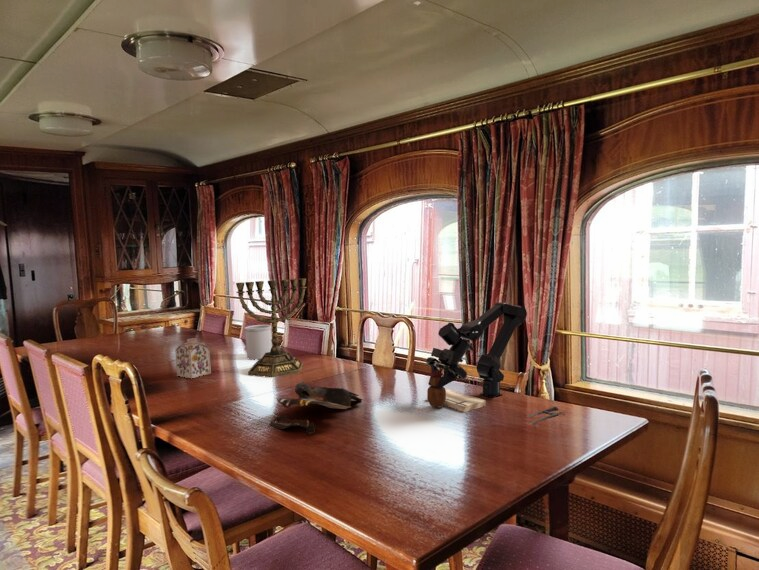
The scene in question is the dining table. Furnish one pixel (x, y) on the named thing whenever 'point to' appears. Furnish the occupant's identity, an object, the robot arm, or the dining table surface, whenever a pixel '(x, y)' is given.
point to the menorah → (275, 359)
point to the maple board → (462, 401)
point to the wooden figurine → (436, 390)
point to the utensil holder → (258, 340)
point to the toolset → (307, 397)
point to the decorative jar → (193, 359)
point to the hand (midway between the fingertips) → (433, 386)
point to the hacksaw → (546, 416)
